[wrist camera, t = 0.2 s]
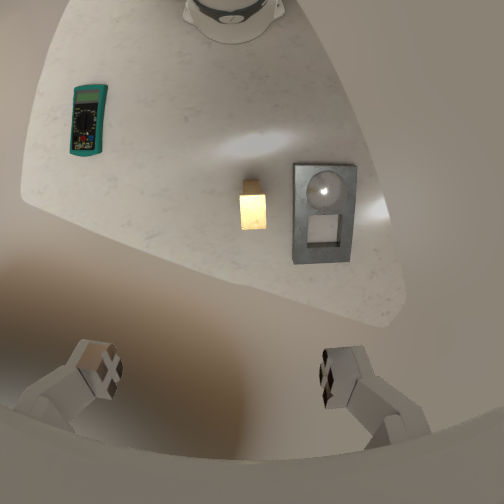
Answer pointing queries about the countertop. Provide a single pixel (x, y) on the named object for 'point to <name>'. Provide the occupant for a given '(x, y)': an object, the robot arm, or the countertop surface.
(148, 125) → the countertop surface
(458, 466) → the robot arm
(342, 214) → the gray socket block
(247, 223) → the wedge pin
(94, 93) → the digital multimeter
